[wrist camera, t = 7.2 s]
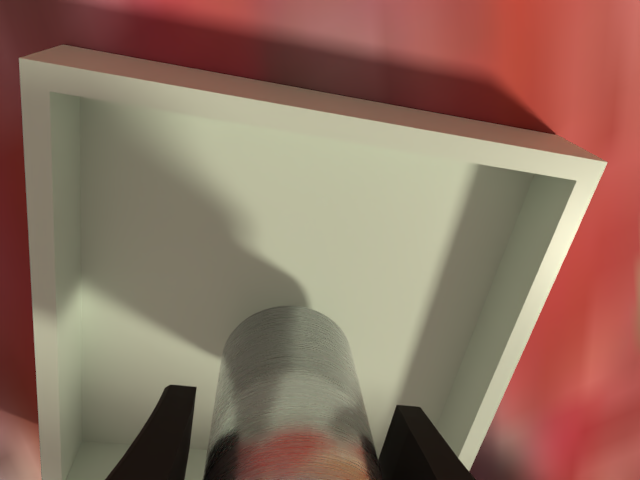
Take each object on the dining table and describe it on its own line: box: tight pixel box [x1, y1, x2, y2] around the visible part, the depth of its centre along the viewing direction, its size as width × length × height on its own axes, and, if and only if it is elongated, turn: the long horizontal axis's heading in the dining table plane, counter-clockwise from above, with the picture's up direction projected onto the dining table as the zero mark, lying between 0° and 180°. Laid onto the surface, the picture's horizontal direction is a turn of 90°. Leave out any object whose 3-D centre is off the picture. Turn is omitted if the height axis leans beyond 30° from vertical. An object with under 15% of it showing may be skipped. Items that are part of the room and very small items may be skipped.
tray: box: [19, 45, 607, 480], centre depth 16 cm, size 14×14×3 cm
